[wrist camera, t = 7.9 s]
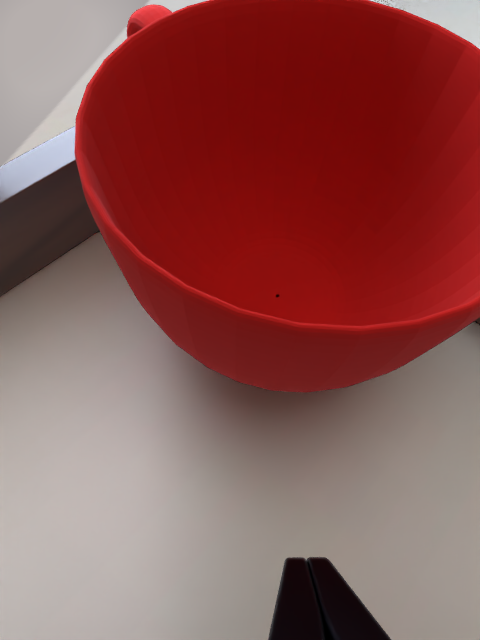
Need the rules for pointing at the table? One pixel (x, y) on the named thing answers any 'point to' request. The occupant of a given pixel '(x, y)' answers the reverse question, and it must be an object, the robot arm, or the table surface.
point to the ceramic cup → (290, 184)
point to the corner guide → (42, 209)
